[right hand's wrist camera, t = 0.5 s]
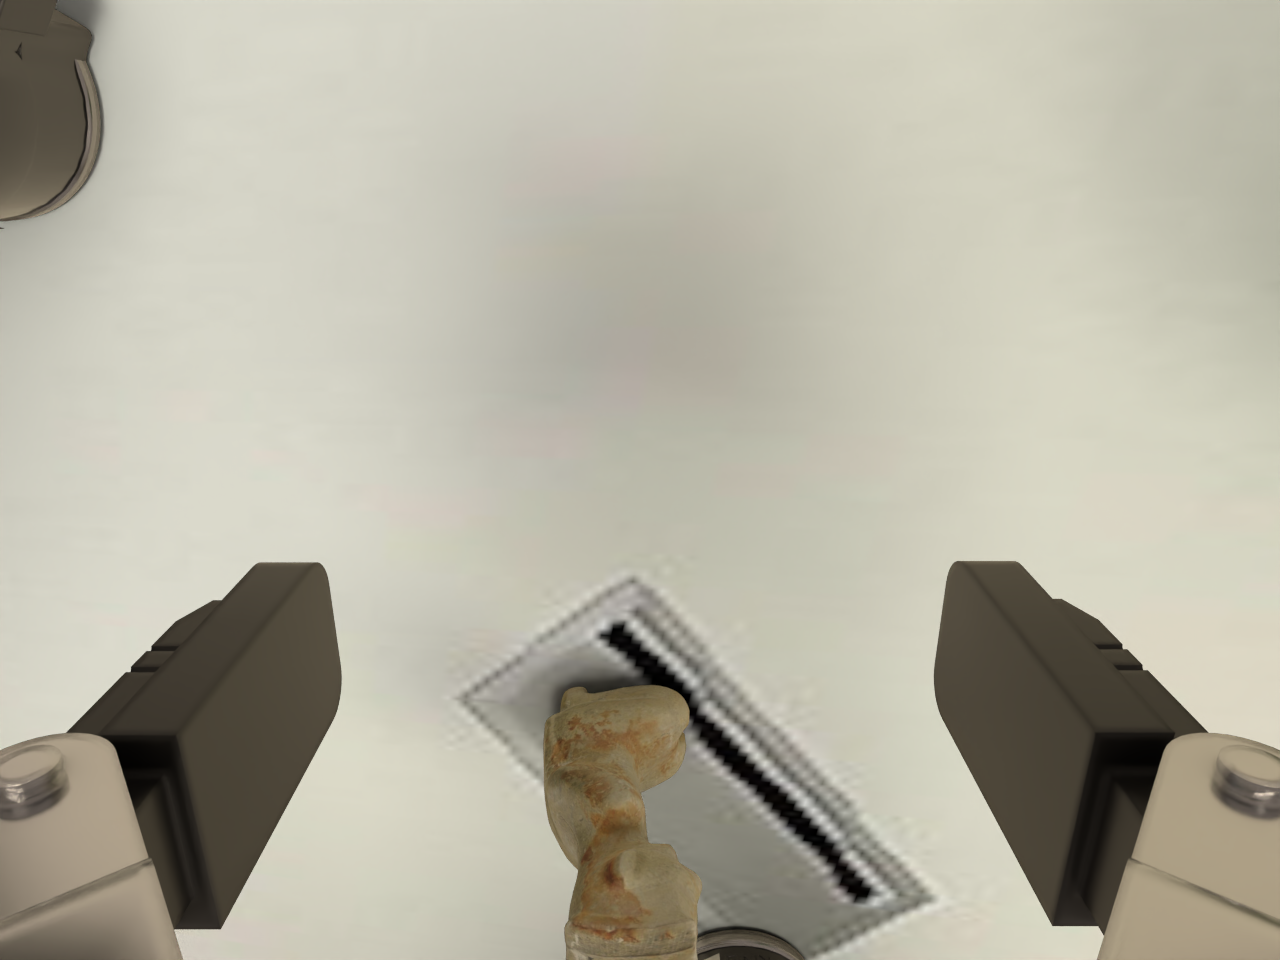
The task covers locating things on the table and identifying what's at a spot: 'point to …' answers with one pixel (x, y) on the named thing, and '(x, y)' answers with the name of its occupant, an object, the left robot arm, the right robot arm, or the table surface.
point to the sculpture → (619, 823)
